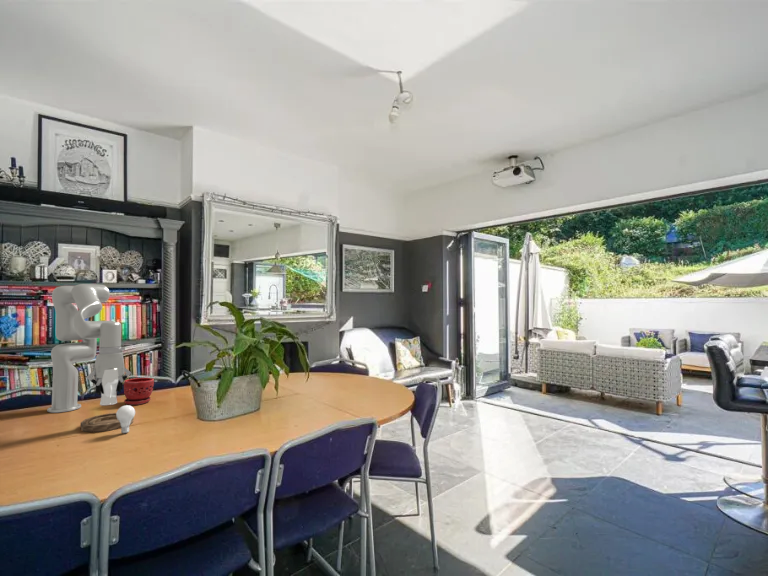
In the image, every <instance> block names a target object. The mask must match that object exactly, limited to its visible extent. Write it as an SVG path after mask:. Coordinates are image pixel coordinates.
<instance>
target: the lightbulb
mask: <svg viewBox="0 0 768 576" xmlns="http://www.w3.org/2000/svg"><path fill="white" fill-rule="evenodd" d="M115 413H116V417H117V419H118V420H119V422H120V425H121V428H120V429H121V430H120V431H121V432H120V433H122V434H127V433H129V432H130V425H131V424H130V423H131V420H132V419H133V417H134V418H135V415H136V409H135V408H134V407H133V406H132V405H129V404H126V405H122V406H120V407H119V408H118V409H117V411H116V412H115ZM133 420H134V419H133Z"/></svg>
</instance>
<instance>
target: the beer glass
mask: <svg viewBox="0 0 768 576" xmlns="http://www.w3.org/2000/svg"><path fill="white" fill-rule="evenodd" d="M118 384H119V374H118V368H116V369H108V370H104V374H103V378H102V379H101V383H100V385H101V395H100V402H99V406H102V407H103V406H105V407H106V406H112V405H113V406H114V405H116V404H118V397H117V396H118V395H117V393H118V391H117V389H118Z"/></svg>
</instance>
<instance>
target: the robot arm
mask: <svg viewBox="0 0 768 576" xmlns="http://www.w3.org/2000/svg"><path fill="white" fill-rule="evenodd" d="M51 294H52V295H51V300H52V301H51V302H52V304H53V308H54V311H55V337H56V339H57V340H59V341H62V342H64V341H65V342H67V341H82V342H72V343H71V342H70V343H61V344H57V345H55V346H54V347H52V348H51V351H50V357H51V362H52V364H51V365H52V388H51V389H52V390H51V394H52V395H51V406H50V407H48V408H47V409H46V410H47V412H48V413H51V414H52V413H56V414H57V413H64V412H65V413H66V412H71V411H75V410H78V409H81V408H82V404H81V403H78V391H79V390H78V389H79V371H78V369H77V368H76V366H75V365H73V364H74V363H81V362H91V361H93V360H94V359H95V362H94V366H93V367H94V369H93V370H92V371H91V372H90V373H89V374H87V376H86V379H87V380H89V382H91V383H92V384H93V385H95V394H97V395H98V396H101V385H100V383H101V379H102V378H103V374H104V370H108V369H116V368H118V374H119V384H118V389H117V393H118V392H119V393H121V392H122V390H123V383H124V381H125V380H127V379H128V377H129V376H130V375H131V374H132V372H131V371H130V370H129V369H128V368H127V367H125V358H124V354H123V351H125V350H126V347H125V346H122V323H121V322H119V321H113V320H93V321H92V320H86V319H90V318H92V317H95V316H96V315H98V314H99V313H100V312H101V311H102V310H103V304H102V303H105V302H107V301H109V298H110V296H111V293H110V289H109V287H108V286H106V285H105V284H98V283H97V284H96V283H79V284H76V285H60V286H57V287H55V288H54V289H53V290H52V293H51ZM74 304H76V306H75V305H74ZM97 339H99V349H98V350H99V351H98V352H99V353H98V354H97V343H98V342H97V341H98V340H97ZM93 377H94V378H96V380H95V379H94V378H93Z"/></svg>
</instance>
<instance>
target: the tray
mask: <svg viewBox="0 0 768 576" xmlns="http://www.w3.org/2000/svg"><path fill="white" fill-rule="evenodd" d="M116 413H117V412H112V413H110V412H109V413H105V414H104V413H103V414H98V415H94V416H91V417H88V418H85V419H84V420H82V421H81V422H80V431H82V432H85V433H102V432H109V431H115V430H119V429H121V425H120V422H119V420H118V419H117V417H116ZM134 419H135V416H134V417H133V419H132V420H131V423H130V425H132V424H133V423H134Z"/></svg>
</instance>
